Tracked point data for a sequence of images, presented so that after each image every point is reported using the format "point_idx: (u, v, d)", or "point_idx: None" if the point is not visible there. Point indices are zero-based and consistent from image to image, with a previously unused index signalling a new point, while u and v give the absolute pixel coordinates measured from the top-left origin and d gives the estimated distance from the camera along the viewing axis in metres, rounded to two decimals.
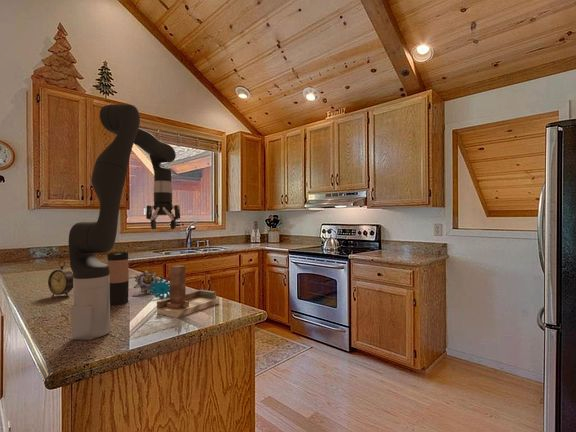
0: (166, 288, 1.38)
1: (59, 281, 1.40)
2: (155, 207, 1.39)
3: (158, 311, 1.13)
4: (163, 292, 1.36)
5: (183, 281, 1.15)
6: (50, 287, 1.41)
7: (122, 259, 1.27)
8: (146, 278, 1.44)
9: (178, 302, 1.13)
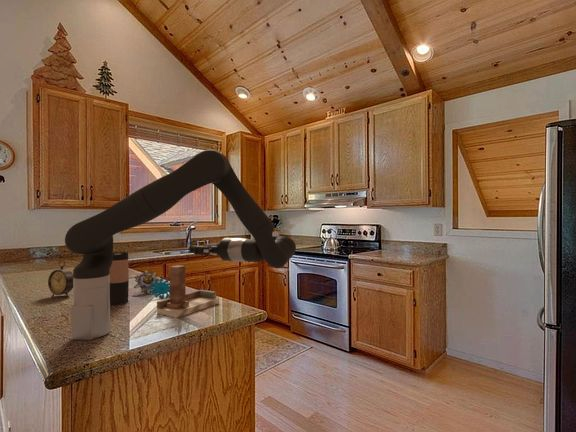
0: (166, 288, 1.39)
1: (59, 281, 1.40)
2: None
3: (158, 311, 1.13)
4: (163, 292, 1.37)
5: (183, 281, 1.15)
6: (50, 287, 1.41)
7: (122, 259, 1.27)
8: (146, 278, 1.44)
9: (178, 302, 1.13)
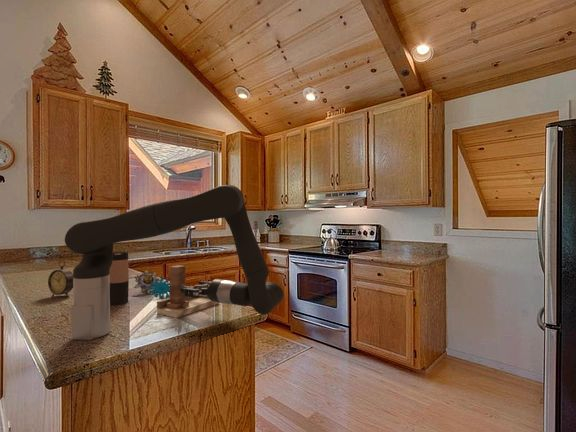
0: (166, 288, 1.39)
1: (58, 281, 1.40)
2: None
3: (158, 311, 1.13)
4: (163, 292, 1.37)
5: (183, 281, 1.15)
6: (50, 287, 1.41)
7: (122, 259, 1.27)
8: (146, 278, 1.44)
9: (178, 302, 1.13)
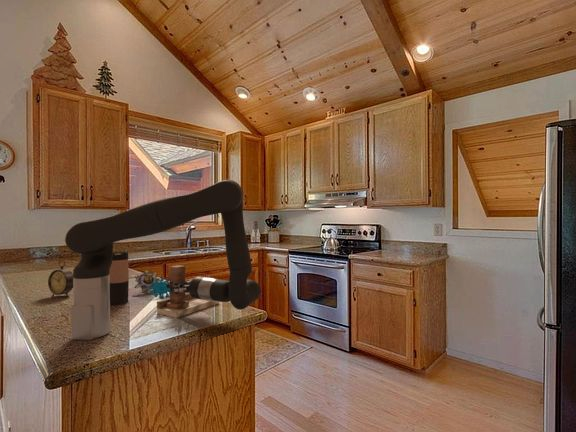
0: (166, 288, 1.39)
1: (59, 281, 1.40)
2: None
3: (158, 311, 1.13)
4: (163, 292, 1.37)
5: (183, 281, 1.15)
6: (50, 287, 1.41)
7: (122, 259, 1.27)
8: (147, 278, 1.44)
9: (178, 302, 1.13)
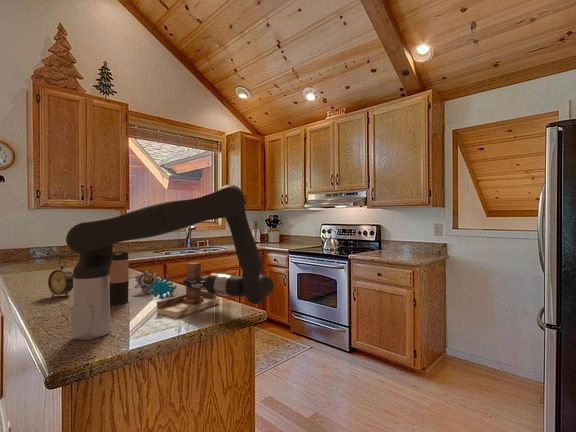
0: (166, 288, 1.39)
1: (59, 281, 1.40)
2: None
3: (158, 311, 1.13)
4: (162, 292, 1.37)
5: (199, 277, 1.22)
6: (50, 287, 1.41)
7: (122, 259, 1.27)
8: (147, 278, 1.44)
9: (194, 297, 1.20)
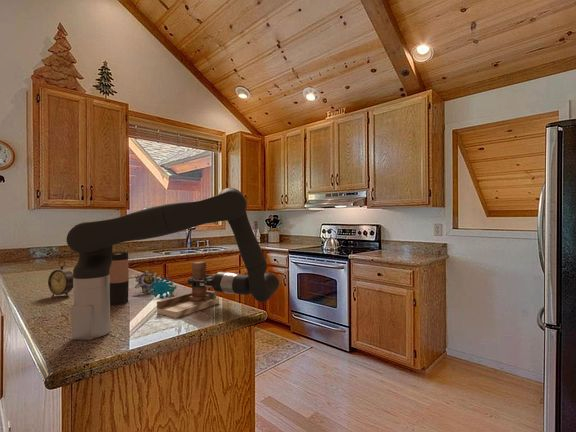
0: (166, 288, 1.39)
1: (59, 281, 1.40)
2: None
3: (158, 311, 1.13)
4: (162, 292, 1.37)
5: (204, 276, 1.24)
6: (50, 287, 1.41)
7: (122, 259, 1.27)
8: (147, 278, 1.44)
9: (200, 295, 1.22)
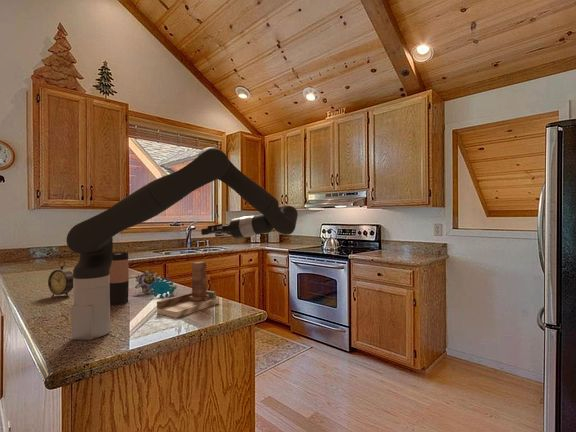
0: (166, 287, 1.40)
1: (59, 281, 1.40)
2: None
3: (158, 311, 1.13)
4: (162, 291, 1.38)
5: (204, 276, 1.24)
6: (50, 287, 1.41)
7: (122, 259, 1.27)
8: (147, 278, 1.44)
9: (200, 295, 1.22)
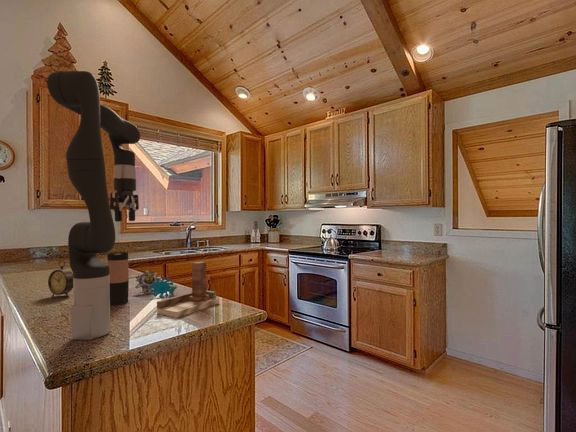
0: (166, 287, 1.40)
1: (59, 281, 1.40)
2: None
3: (158, 311, 1.13)
4: (162, 291, 1.38)
5: (204, 276, 1.24)
6: (50, 287, 1.41)
7: (122, 259, 1.27)
8: (147, 278, 1.44)
9: (200, 295, 1.22)
